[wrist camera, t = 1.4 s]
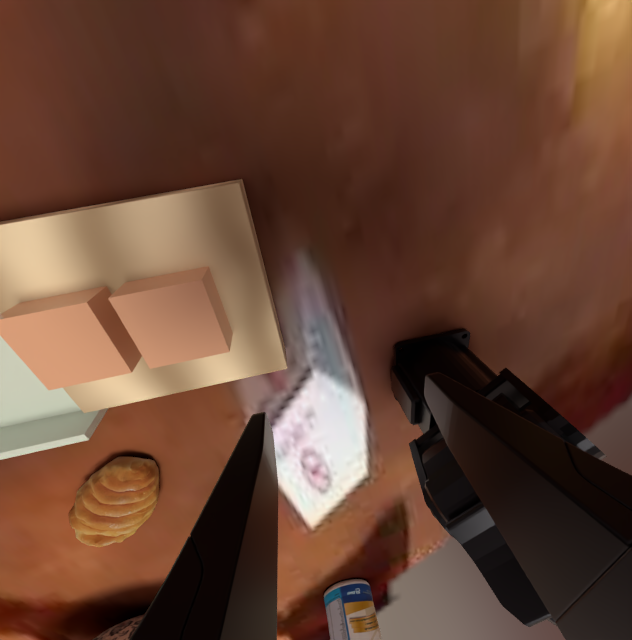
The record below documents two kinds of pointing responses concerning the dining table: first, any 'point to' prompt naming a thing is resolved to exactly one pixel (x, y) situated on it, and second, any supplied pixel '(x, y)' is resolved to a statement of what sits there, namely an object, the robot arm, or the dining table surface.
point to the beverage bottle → (351, 611)
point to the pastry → (115, 501)
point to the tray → (37, 411)
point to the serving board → (149, 261)
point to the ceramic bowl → (121, 630)
